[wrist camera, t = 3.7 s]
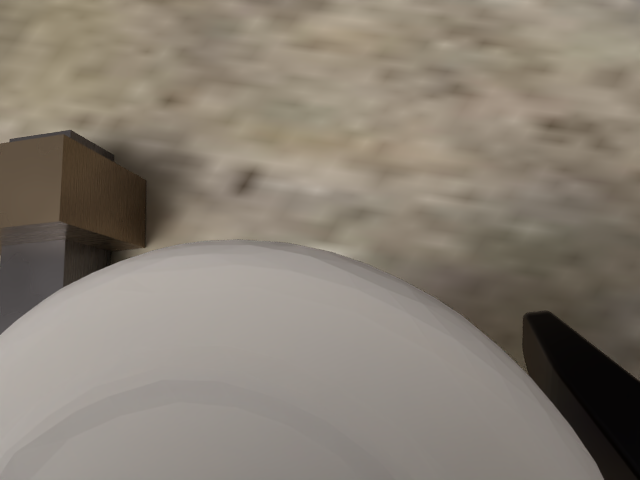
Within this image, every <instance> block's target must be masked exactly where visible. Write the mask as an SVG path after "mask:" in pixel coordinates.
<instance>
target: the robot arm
mask: <svg viewBox="0 0 640 480" xmlns="http://www.w3.org/2000/svg"><path fill="white" fill-rule="evenodd" d="M522 347H523V354H524V359H525V362H526V366H527V369H528V373H529V376H530V377H531V378H532V380H533V381H534V382H535V383H536V384H537V386H538V387H539V388H540V389H541V390H542V391H543V393H544V394H545V395H546V396H547V397H548V398H549V400H550V401H551V402H552V403H553V404H554V406H555V407H556V408H557V409H558V411H559V412H560V413H561V414H562V416H563V417H564V418H565V419H566V421H567V422H568V423H569V424H570V426H571V427H572V428H573V430H574V431H575V433H576V434H577V436H578V437H579V439H580V440H581V442H582V443H583V445H584V446H585V448H586V449H587V450H588V452H589V453H590V455H591V456H592V458H593V459H594V461H595V462H596V464H597V466H598V468H599V470H600V472H601V474H602V476H603V478H604V480H640V381H639V380H637V379H636V378H635V377H633V376H632V375H631V374H630V373H628V372H627V371H626V370H624V369H623V368H622V367H621V366H619V365H618V364H617V363H615V362H614V361H613V360H612V359H610V358H609V357H608V356H606V355H605V354H604V353H603V352H601V351H600V350H599V349H597V348H596V347H595V346H594V345H592V344H591V343H590V342H588V341H587V340H586V339H585V338H583V337H582V336H581V335H579V334H578V333H577V332H576V331H574V330H573V329H572V328H570V327H569V326H568V325H567V324H565V323H564V322H563V321H561V320H560V319H559V318H558V317H556V316H555V315H554V314H552V313H551V312H549V311H538V312H529V313H526V314H525V315H524V317H523V340H522Z"/></svg>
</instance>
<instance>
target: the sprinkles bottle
mask: <svg viewBox="0 0 640 480" xmlns="http://www.w3.org/2000/svg"><path fill="white" fill-rule="evenodd" d="M0 480H604V478H603V476H602V474H601V472H600V470H599V468H598V466H597V464H596V462H595V461H594V459H593V458H592V456H591V455H590V453H589V452H588V450H587V449H586V448H585V446H584V445H583V443H582V442H581V440H580V439H579V437H578V436H577V434H576V433H575V431H574V430H573V428H572V427H571V426H570V424H569V423H568V422H567V421H566V419H565V418H564V417H563V416H562V414H561V413H560V412H559V411H558V409H557V408H556V407H555V406H554V404H553V403H552V402H551V401H550V400H549V398H548V397H547V396H546V395H545V394H544V393H543V391H542V390H541V389H540V388H539V387H538V386H537V384H536V383H535V382H534V381H533V380H532V378H531V377H530V376H529V375H528V374H527V373H526V372H525V371H524V370H523V369H522V368H521V367H520V366H519V365H518V364H517V363H516V362H515V361H514V360H513V359H512V358H511V357H510V356H508V355H507V354H506V353H505V352H504V351H503V350H502V349H501V348H500V347H499V346H498V345H497V344H496V343H494V342H493V341H492V340H491V339H490V338H488V337H487V336H486V335H485V334H484V333H482V332H481V331H480V330H479V329H478V328H476V327H475V326H474V325H473V324H472V323H470V322H469V321H468V320H467V319H466V318H464V317H463V316H462V315H461V314H459V313H458V312H456V311H454V310H453V309H451V308H450V307H448V306H447V305H445V304H444V303H442V302H441V301H439V300H438V299H436V298H435V297H433V296H431V295H429V294H427V293H426V292H424V291H422V290H420V289H418V288H416V287H414V286H413V285H411V284H409V283H407V282H405V281H403V280H402V279H400V278H397V277H395V276H393V275H391V274H388V273H386V272H384V271H382V270H379V269H377V268H375V267H373V266H370V265H368V264H366V263H363V262H360V261H357V260H354V259H351V258H348V257H345V256H342V255H339V254H336V253H333V252H329V251H325V250H320V249H315V248H310V247H306V246H301V245H296V244H291V243H283V242H270V241H255V240H239V239H237V240H213V241H200V242H193V243H186V244H179V245H174V246H170V247H166V248H161V249H157V250H153V251H150V252H147V253H144V254H141V255H138V256H135V257H131V258H128V259H125V260H122V261H120V262H117V263H115V264H112V265H110V266H108V267H105V268H103V269H100V270H98V271H96V272H93V273H91V274H89V275H87V276H85V277H83V278H81V279H79V280H77V281H75V282H73V283H71V284H69V285H67V286H65V287H63V288H61V289H60V290H58V291H57V292H55V293H54V294H52V295H51V296H49V297H48V298H46V299H45V300H43V301H42V302H40V303H39V304H38V305H36V306H35V307H34V308H32V309H31V310H30V311H28V312H27V313H26V314H24V315H23V316H22V317H20V318H19V319H18V320H17V321H15V322H14V323H13V324H12V325H11V326H10V327H9V328H7V329H6V330H5V331H4V332H3V333H2V334H1V335H0Z"/></svg>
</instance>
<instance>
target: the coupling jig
mask: <svg viewBox="0 0 640 480" xmlns="http://www.w3.org/2000/svg"><path fill="white" fill-rule="evenodd" d="M113 156H114V155H113V154H111V153H109V152H108V151H106V150H104V149H102V148H101V147H99V146H97V145H96V144H94V143H92V142H90V141H89V140H87V139H85V138H84V137H82V136H80V135H78V134H77V133H75V132H73V131H72V130H67V131H61V132H54V133H47V134H41V135H34V136H27V137H21V138H14V139H10V142H8V143H1V144H0V256H1V261H0V335H1V334H2V333H3V332H4V331H5V330H6V329H7V328H9V327H10V326H11V325H12V324H13V323H14V322H15V321H17V320H18V319H19V318H20V317H22V316H23V315H24V314H26V313H27V312H28V311H30V310H31V309H32V308H34V307H35V306H36V305H38V304H39V303H40V302H42V301H43V300H45V299H46V298H48V297H49V296H51V295H52V294H54V293H55V292H57V291H58V290H60V289H61V288H63V287H65V286H67V285H69V284H71V283H73V282H75V281H77V280H79V279H81V278H83V277H85V276H87V275H89V274H91V273H93V272H96V271H98V270H100V269H103V268H105V267H108V266H110V255H111V251H117V250H127V249H137V248H145V214H146V180H145V179H143V178H141V177H139V176H138V175H136V174H134V173H132V172H130V171H129V170H127V169H125V168H123V167H122V166H120V165H118V164H116V163H114V162H113Z"/></svg>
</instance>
